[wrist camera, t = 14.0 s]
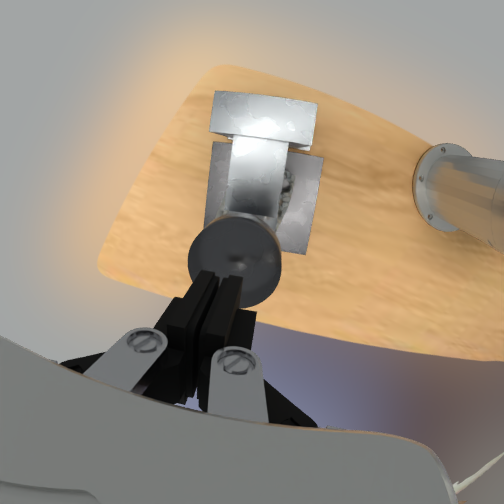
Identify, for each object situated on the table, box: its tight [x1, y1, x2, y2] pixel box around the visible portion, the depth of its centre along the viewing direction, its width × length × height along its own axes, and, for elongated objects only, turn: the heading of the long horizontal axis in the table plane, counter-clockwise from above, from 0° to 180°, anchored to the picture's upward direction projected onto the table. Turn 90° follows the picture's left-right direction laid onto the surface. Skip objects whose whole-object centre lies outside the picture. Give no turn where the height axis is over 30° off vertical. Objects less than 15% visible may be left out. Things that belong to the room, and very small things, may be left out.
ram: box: [188, 211, 281, 309], centre depth 21 cm, size 5×5×13 cm
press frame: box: [204, 91, 324, 255], centre depth 28 cm, size 14×18×17 cm
